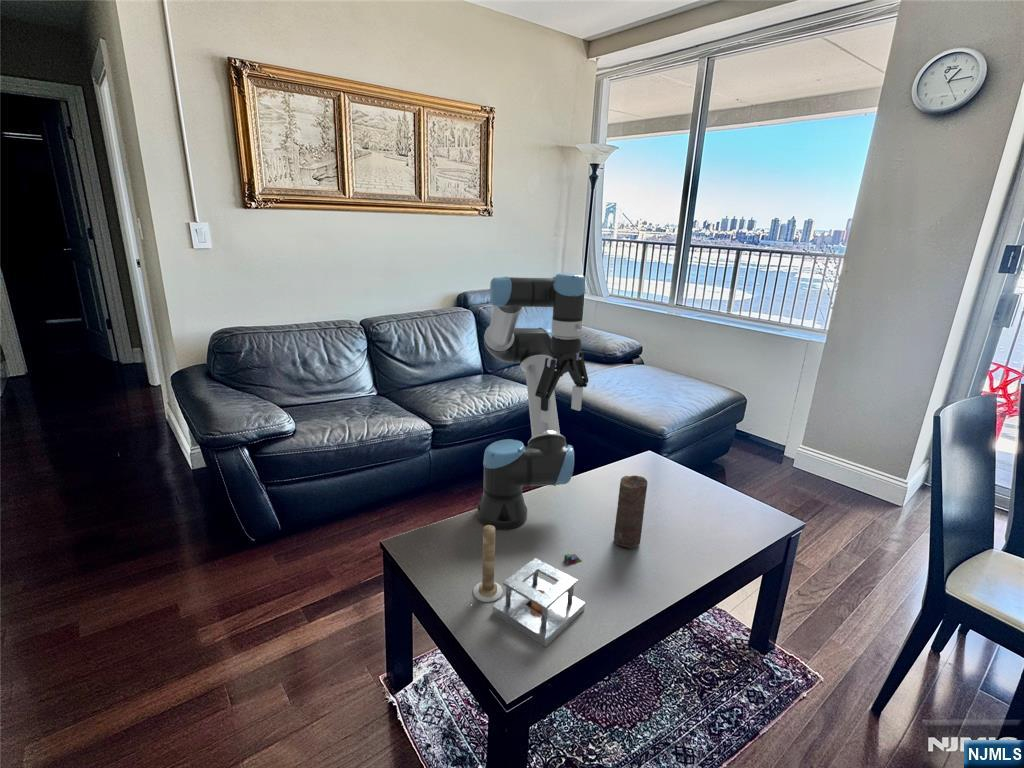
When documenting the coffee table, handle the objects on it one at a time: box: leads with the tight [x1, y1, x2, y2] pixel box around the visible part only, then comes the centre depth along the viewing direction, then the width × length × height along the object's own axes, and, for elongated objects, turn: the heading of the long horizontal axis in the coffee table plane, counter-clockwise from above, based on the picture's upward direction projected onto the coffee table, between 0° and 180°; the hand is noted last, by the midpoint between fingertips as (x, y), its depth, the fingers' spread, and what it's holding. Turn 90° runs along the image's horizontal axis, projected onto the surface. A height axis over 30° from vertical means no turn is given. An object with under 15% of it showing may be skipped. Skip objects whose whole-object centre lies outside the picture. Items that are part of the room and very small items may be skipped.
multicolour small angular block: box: [563, 553, 583, 565], centre depth 137 cm, size 4×3×2 cm
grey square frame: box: [491, 557, 586, 648], centre depth 118 cm, size 15×15×8 cm
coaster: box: [472, 581, 504, 603], centre depth 124 cm, size 7×7×1 cm
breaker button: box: [530, 590, 545, 614], centre depth 118 cm, size 4×4×4 cm
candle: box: [613, 475, 648, 549], centre depth 143 cm, size 8×7×20 cm
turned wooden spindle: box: [479, 525, 497, 597], centre depth 122 cm, size 4×4×17 cm
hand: (561, 415), depth 137 cm, fingers open, 13 cm apart
